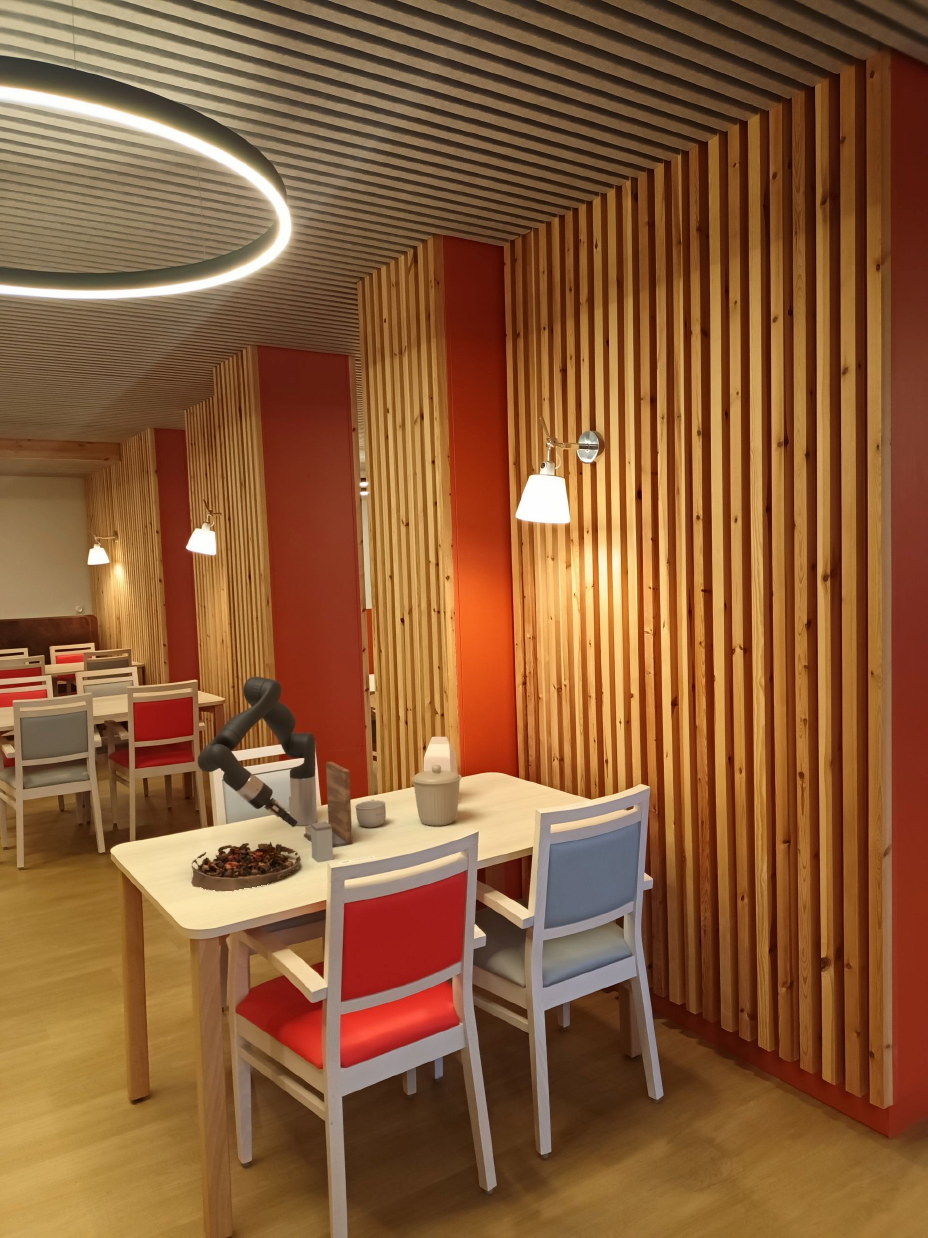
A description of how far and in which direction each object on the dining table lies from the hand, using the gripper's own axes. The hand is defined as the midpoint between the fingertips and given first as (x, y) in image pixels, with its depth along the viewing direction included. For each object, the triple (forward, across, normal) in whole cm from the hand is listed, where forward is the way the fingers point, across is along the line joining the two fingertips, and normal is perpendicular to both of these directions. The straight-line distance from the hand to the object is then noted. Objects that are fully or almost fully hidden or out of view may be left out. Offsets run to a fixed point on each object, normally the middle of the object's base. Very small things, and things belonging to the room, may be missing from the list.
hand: (291, 821), depth 286 cm
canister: (+52, +17, -32) cm, 63 cm away
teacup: (+37, +28, -17) cm, 50 cm away
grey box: (+16, 0, +3) cm, 17 cm away
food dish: (-1, +1, +21) cm, 21 cm away
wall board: (+22, +18, -3) cm, 29 cm away
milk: (+62, +42, -42) cm, 86 cm away
